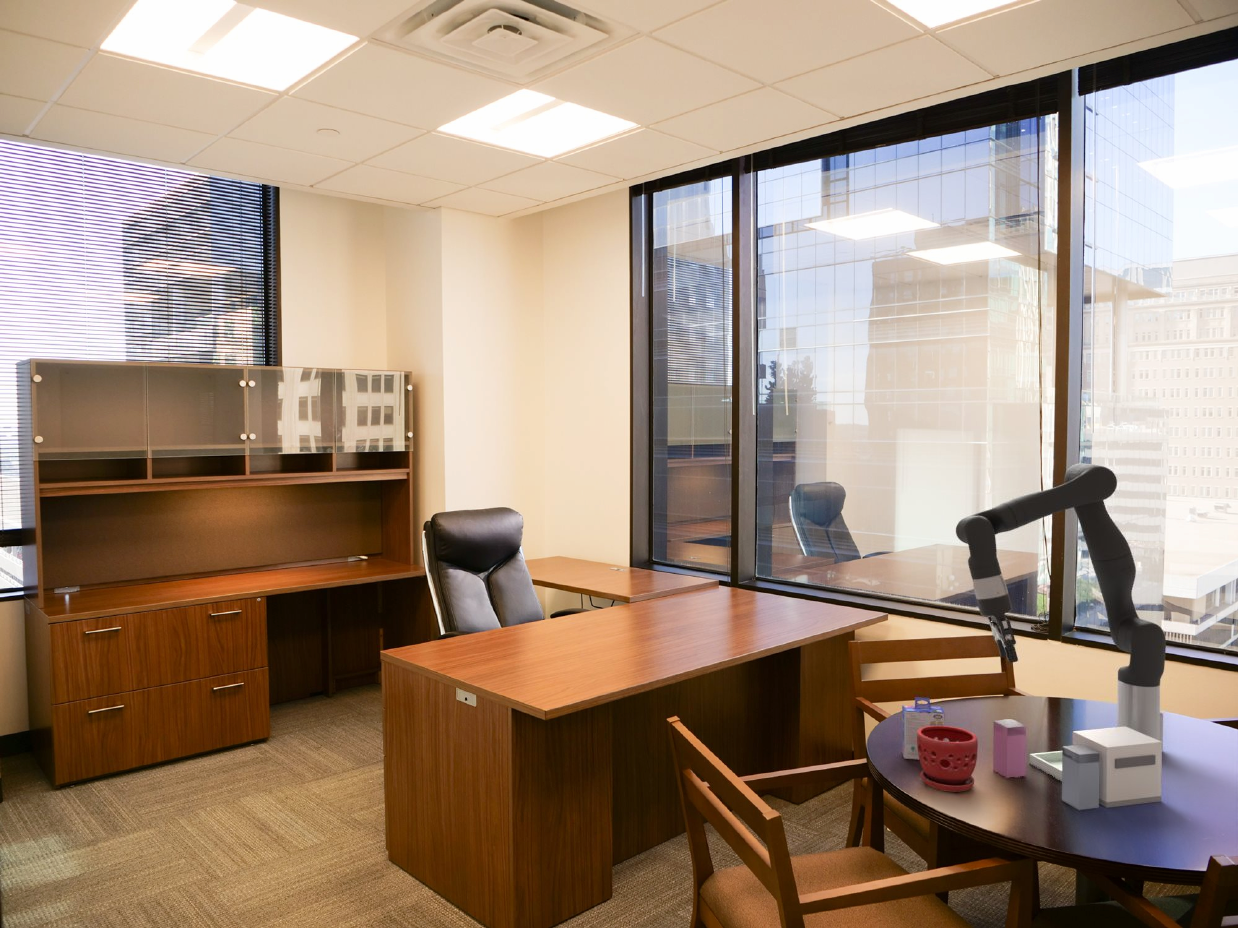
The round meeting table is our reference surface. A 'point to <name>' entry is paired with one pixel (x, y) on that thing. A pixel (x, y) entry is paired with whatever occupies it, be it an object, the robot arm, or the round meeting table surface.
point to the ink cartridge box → (918, 724)
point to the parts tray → (1048, 763)
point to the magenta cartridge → (1009, 748)
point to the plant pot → (947, 757)
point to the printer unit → (1125, 765)
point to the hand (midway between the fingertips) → (1009, 659)
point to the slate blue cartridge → (1080, 776)
